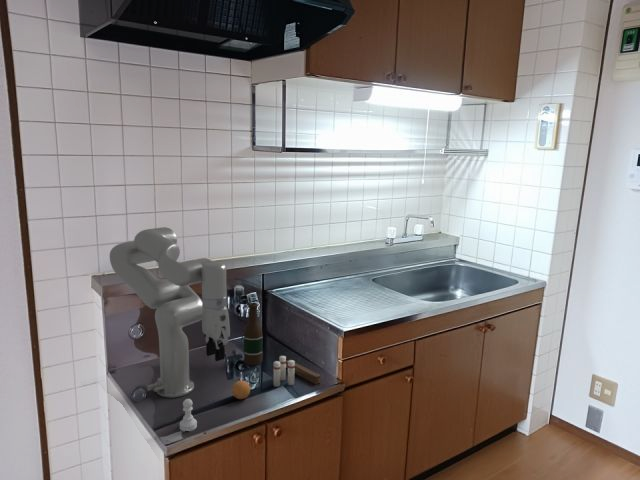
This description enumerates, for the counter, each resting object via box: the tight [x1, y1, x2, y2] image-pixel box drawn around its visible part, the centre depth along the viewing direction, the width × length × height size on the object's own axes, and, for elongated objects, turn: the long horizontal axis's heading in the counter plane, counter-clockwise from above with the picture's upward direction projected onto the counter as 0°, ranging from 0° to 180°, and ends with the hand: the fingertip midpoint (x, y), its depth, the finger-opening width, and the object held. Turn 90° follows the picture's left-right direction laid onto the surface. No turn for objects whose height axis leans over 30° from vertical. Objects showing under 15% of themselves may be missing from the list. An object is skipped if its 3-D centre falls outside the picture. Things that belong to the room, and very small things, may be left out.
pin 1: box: [278, 355, 287, 381], centre depth 179 cm, size 2×2×8 cm
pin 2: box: [287, 359, 296, 386], centre depth 176 cm, size 2×2×8 cm
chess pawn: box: [179, 398, 198, 432], centre depth 146 cm, size 5×5×9 cm
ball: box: [232, 380, 251, 400], centre depth 165 cm, size 6×6×6 cm
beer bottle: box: [243, 302, 264, 366], centre depth 193 cm, size 8×8×24 cm
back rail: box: [286, 359, 322, 385], centre depth 183 cm, size 2×18×3 cm, turn 42°
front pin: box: [273, 360, 281, 387], centre depth 175 cm, size 2×2×8 cm
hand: (215, 356), depth 156 cm, fingers open, 4 cm apart
